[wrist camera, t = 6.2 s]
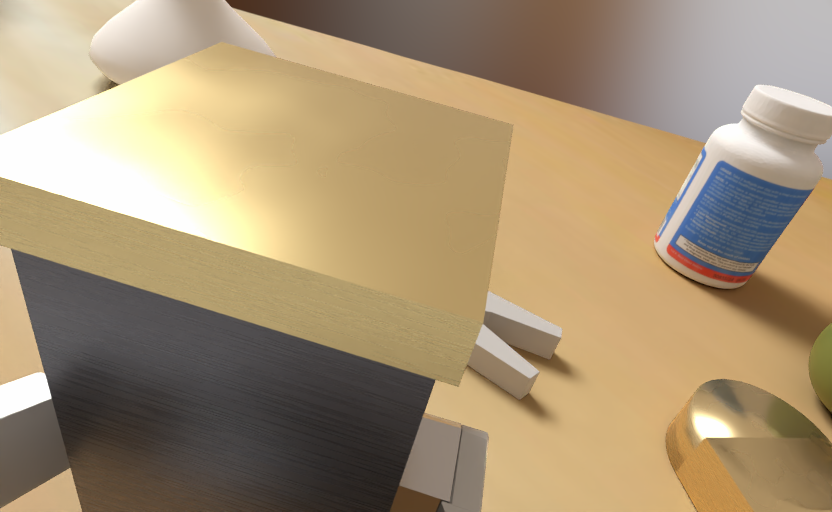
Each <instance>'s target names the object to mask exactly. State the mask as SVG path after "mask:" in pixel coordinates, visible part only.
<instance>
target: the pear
mask: <svg viewBox="0 0 832 512" xmlns="http://www.w3.org/2000/svg"><path fill="white" fill-rule="evenodd" d="M809 375H810V380H811V383H812V386H813V388H814V390H815V392H816V394H817V395H818V397H819V399H820V400H821V401H822V403H823V404H824V405H825V406H826V407H827V409H828V410H829V411H830V412H831V413H832V323H831V324H829V325H828V326H827V327H826V328H825V329H824V330H823V331H822V332H821V334H820V335H819V336H818V338H817V339H816V341H815V343H814V345H813V347H812V350H811V353H810V357H809Z"/></svg>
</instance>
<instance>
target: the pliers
mask: <svg viewBox="0 0 832 512" xmlns="http://www.w3.org/2000/svg"><path fill="white" fill-rule="evenodd" d="M561 335H562V328H560V327H558V326H556V325H554V324H552V323H550V322H548V321H546V320H544V319H542V318H540V317H538V316H536V315H535V314H533V313H531V312H529V311H527V310H525V309H523V308H521V307H519V306H517V305H515V304H513V303H511V302H509V301H507V300H505V299H503V298H501V297H499V296H497V295H495V294H493V293H491V292H489V291H488V295H487V302H486V308H485V315H484V322H483V325H482V327H481V330H480V332H479V335H478V338H477V340H476V343H475V345H474V348H473V351H472V353H471V356H470V358H469V361H468V363H467V365H468V366H469V367H471V368H472V369H474V370H475V371H477V372H478V373H480V374H481V375H483V376H484V377H486V378H487V379H489V380H490V381H492V382H493V383H495V384H496V385H498V386H499V387H501V388H502V389H504V390H505V391H507V392H508V393H510V394H511V395H513V396H514V397H515V398H517V399H518V400H520V399H521V398H523V397H524V396H526V395H527V394H528V393H529V392H530V390H531V388H532V386H533V384H534V382H535V380H536V378H537V376H538V374H539V371H538V370H537V369H536V368H535V367H533V366H532V365H531V364H530V363H529V362H527V361H526V360H525V359H524V358H523V357H522V356H520V355H519V354H518V353H517V352H516V351H514V350H513V349H512V348H511V347H510V346H508V345H507V344H509V345H512V346H515V347H517V348H520V349H522V350H525V351H528V352H530V353H533V354H536V355H538V356H541V357H544V358H546V359H549V360H550V359H551V357H552V355H553V353H554V351H555V349H556V347H557V345H558V343H559V341H560V339H561ZM506 343H507V344H506Z"/></svg>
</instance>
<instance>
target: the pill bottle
mask: <svg viewBox="0 0 832 512" xmlns="http://www.w3.org/2000/svg"><path fill="white" fill-rule="evenodd" d="M742 108H743V110H742V111H741V114H742V116H743V118H742V120H741V121H740V122H739V123H738V124H727V125H724V126H722V127H719V128H718V129H716V130H715V131H714V132H713V133H712V135H711V136H710V138H709V140H708V141H707V143H706V145H705V146H704V148H703V150H702V152H701V153H700V155H699V157H698V159H697V160H696V162H695V164H694V166H693V168H692V170H691V171H690V173H689V175H688V176H687V178H686V180H685V182H684V184H683V186H682V187H681V189H680V191H679V193H678V195H677V197H676V198H675V200H674V202H673V204H672V206H671V207H670V209H669V211H668V213H667V215H666V216H665V218H664V220H663V222H662V224H661V226H660V228H659V229H658V231H657V233H656V236H655V239H654V246H655V249H656V251H657V253H658V254H659V256H660V257H661V258H662V259H663V260H664V261H665V262H666V263H667V264H668V265H669V266H670V267H672V268H673V269H675V270H676V271H678V272H679V273H681V274H683V275H685V276H686V277H688V278H690V279H693V280H695V281H697V282H700V283H703V284H705V285H709V286H712V287H717V288H723V289H733V288H738V287H740V286H742V285H744V284H745V283H746V282H747V281H748V280H749V278H750V277H751V276H752V275H753V273H754V272H755V271H756V269H757V268H758V266H759V265H760V263H761V262H762V260H763V259H764V258H765V256H766V255H767V253H768V252H769V250H770V249H771V248H772V246H773V245H774V244H775V242H776V241H777V239H778V238H779V237H780V235H781V234H782V232H783V231H784V229H785V228H786V227H787V225H788V224H789V222H790V221H791V220H792V218H793V217H794V216H795V214H796V213H797V211H798V210H799V209H800V207H801V206H802V205H803V203H804V202H805V200H806V199H807V198H808V196H809V195H810V194H811V192H812V191H813V189H814V187H815V186H816V184H817V183H818V181H819V180H820V178H821V176H822V174H823V165H822V163H821V161H820V159H819V158H818V156H817V155H816V154H815V153H814V150H815V148H816V147H817V145H818V144H824V143H826V140H827V139H829V138H830V137H831V135H832V107H831V106H829V105H827V104H825V103H822V102H820V101H818V100H815V99H813V98H810V97H808V96H805V95H802V94H799V93H796V92H793V91H789V90H786V89H782V88H778V87H774V86H769V85H757V86H755V87H754V89H753V91H752V92H751V94H750V95H749V97H748V99H747V100H746V102H745V103H744V105H743V107H742Z"/></svg>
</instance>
